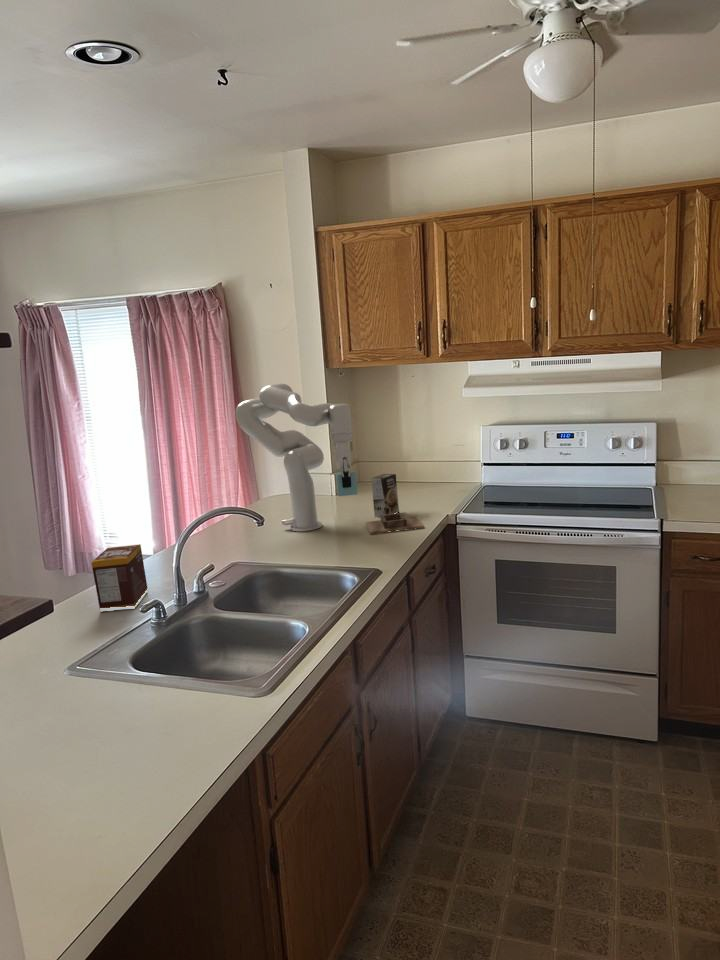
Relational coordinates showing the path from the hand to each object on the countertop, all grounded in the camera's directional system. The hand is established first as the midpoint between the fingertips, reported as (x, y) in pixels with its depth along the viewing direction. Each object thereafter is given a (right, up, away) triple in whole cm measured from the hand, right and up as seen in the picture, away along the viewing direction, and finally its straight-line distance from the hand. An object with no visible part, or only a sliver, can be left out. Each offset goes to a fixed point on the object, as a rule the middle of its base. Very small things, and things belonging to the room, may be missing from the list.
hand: (346, 485), depth 269 cm
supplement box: (-66, -35, -52) cm, 91 cm away
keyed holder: (+18, -15, +4) cm, 24 cm away
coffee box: (+16, -12, +24) cm, 31 cm away
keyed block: (0, -3, +1) cm, 3 cm away
